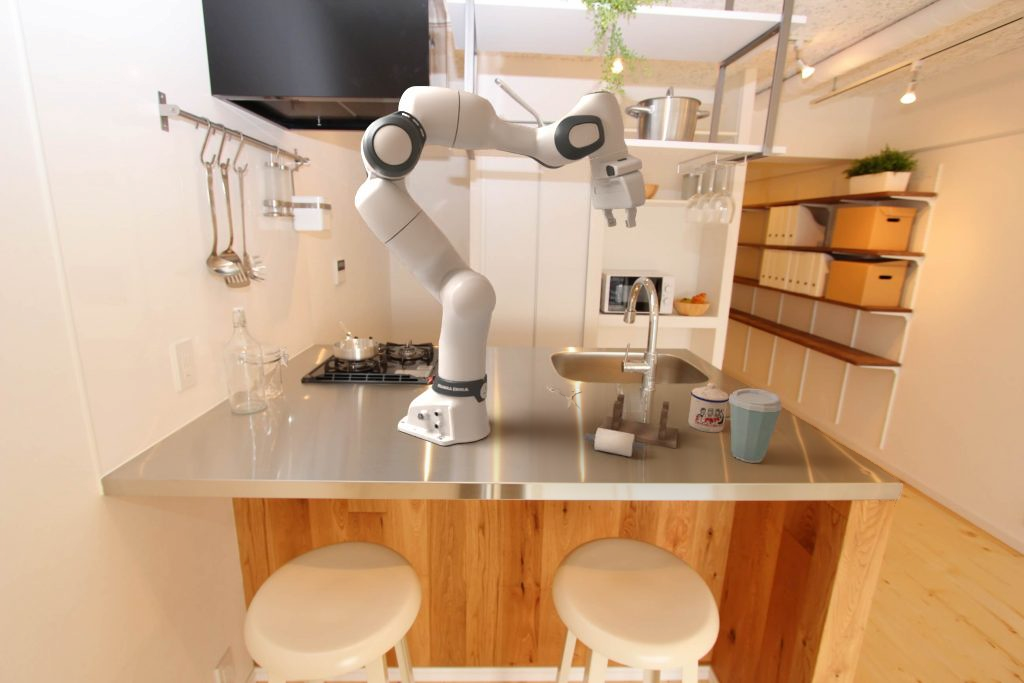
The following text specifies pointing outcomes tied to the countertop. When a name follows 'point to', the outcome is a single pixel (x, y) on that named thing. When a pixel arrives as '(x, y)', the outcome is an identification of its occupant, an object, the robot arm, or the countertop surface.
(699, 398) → the teacup with lid
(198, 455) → the countertop surface
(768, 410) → the disposable coffee cup
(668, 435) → the roll holder
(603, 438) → the paper roll
